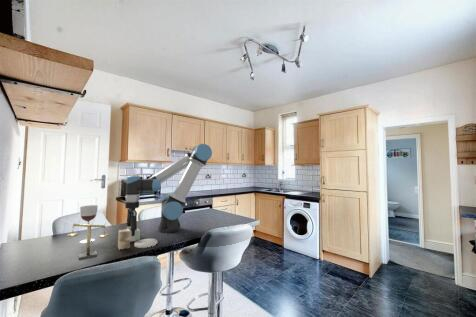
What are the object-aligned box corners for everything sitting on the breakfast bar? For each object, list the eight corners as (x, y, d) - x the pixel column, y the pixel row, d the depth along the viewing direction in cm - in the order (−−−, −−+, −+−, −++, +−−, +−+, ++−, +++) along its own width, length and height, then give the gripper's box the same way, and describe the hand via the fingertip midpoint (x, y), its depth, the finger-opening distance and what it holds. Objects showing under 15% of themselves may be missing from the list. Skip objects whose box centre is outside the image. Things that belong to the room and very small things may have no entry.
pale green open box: (136, 236, 134) (136, 227, 134) (139, 239, 127) (140, 230, 127) (121, 238, 129) (121, 229, 129) (124, 242, 122) (124, 233, 122)
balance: (107, 250, 110) (109, 218, 111) (109, 253, 106) (110, 220, 107) (65, 258, 99) (67, 223, 100) (65, 262, 95) (67, 225, 96)
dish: (153, 239, 128) (153, 237, 128) (160, 245, 119) (160, 242, 119) (132, 243, 121) (132, 241, 121) (137, 249, 112) (137, 247, 112)
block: (127, 245, 118) (128, 228, 119) (129, 247, 114) (130, 230, 115) (117, 247, 115) (118, 230, 116) (119, 249, 111) (120, 232, 112)
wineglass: (74, 242, 122) (76, 207, 123) (89, 237, 130) (91, 204, 131) (85, 243, 119) (87, 208, 120) (99, 239, 127) (101, 205, 129)
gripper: (122, 199, 135) (120, 235, 134) (129, 204, 118) (127, 245, 117) (135, 198, 140) (133, 233, 139) (143, 203, 123) (141, 242, 122)
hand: (130, 239), depth 128 cm, fingers closed on pale green open box, 8 cm apart
